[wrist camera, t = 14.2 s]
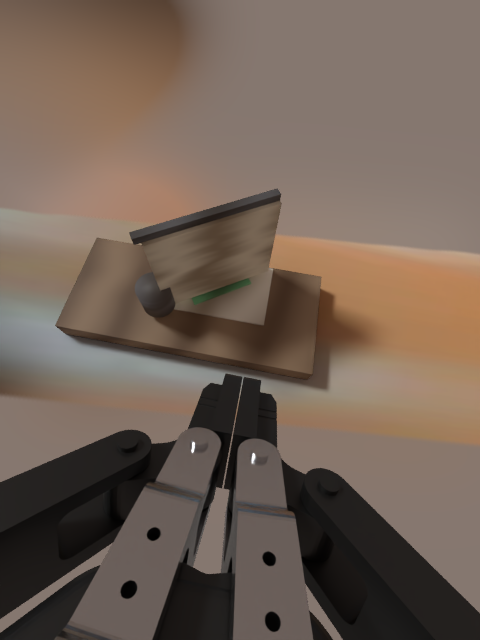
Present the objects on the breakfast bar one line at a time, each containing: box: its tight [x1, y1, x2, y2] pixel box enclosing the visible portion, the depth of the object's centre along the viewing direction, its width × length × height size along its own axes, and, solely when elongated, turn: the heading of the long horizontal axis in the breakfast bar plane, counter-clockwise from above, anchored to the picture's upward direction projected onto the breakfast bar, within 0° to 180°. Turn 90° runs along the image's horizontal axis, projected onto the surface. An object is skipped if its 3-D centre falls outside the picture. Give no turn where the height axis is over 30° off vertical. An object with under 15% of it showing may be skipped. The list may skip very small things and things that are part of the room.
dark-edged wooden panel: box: [129, 189, 281, 318], centre depth 26 cm, size 12×3×10 cm, turn 113°
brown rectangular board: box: [55, 238, 321, 380], centre depth 31 cm, size 24×10×2 cm, turn 79°
